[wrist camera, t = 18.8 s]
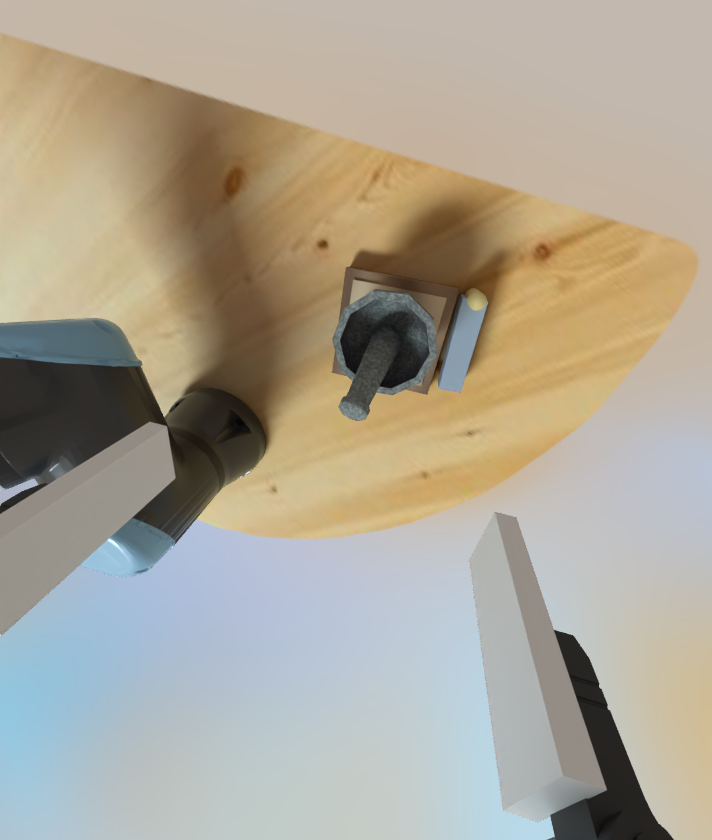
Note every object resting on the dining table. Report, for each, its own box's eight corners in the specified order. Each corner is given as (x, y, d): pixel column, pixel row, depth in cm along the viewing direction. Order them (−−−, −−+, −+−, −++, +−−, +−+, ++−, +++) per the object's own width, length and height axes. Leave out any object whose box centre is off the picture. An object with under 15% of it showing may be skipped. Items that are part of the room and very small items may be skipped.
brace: (462, 286, 33) (467, 290, 30) (486, 289, 33) (494, 294, 29) (437, 380, 39) (439, 394, 35) (458, 383, 38) (461, 398, 35)
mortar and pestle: (371, 266, 32) (345, 274, 22) (452, 306, 33) (464, 333, 22) (333, 360, 38) (298, 402, 28) (402, 394, 38) (393, 448, 28)
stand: (336, 367, 41) (331, 373, 39) (350, 266, 35) (345, 267, 33) (427, 388, 40) (427, 395, 38) (457, 287, 34) (459, 290, 32)
